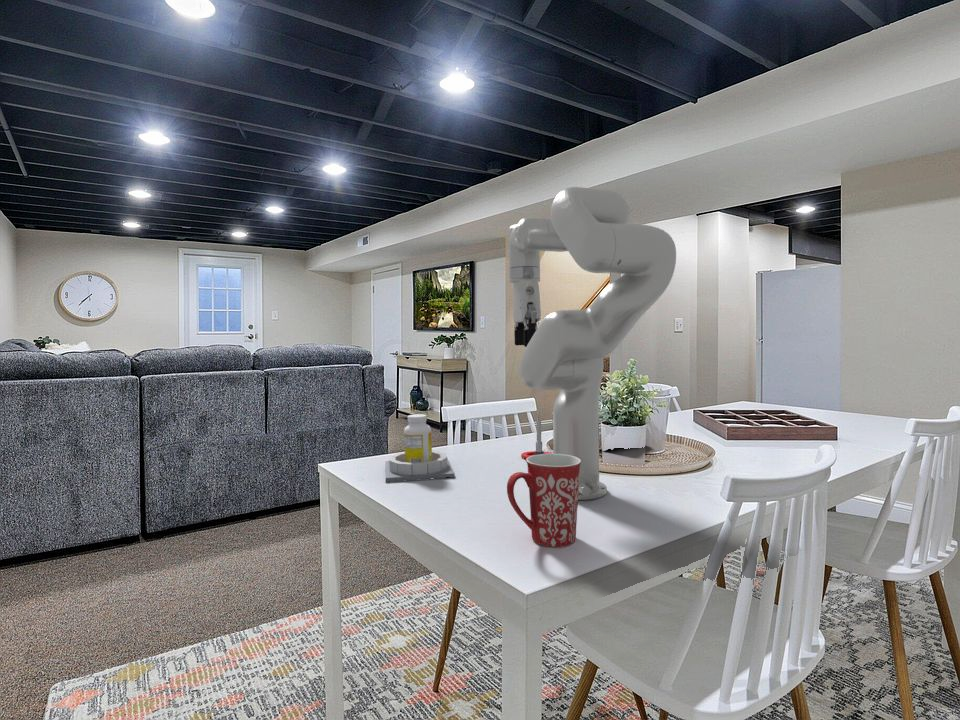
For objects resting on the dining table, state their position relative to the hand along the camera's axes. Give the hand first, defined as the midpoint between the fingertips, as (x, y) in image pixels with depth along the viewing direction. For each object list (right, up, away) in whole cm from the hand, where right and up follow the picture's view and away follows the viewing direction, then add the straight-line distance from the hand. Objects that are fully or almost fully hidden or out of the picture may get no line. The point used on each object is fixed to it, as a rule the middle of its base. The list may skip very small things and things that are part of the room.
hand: (525, 345), depth 138 cm
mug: (-1, -34, -45) cm, 56 cm away
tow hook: (+4, -30, +12) cm, 32 cm away
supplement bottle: (-26, -30, 0) cm, 40 cm away
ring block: (-26, -31, +1) cm, 41 cm away
